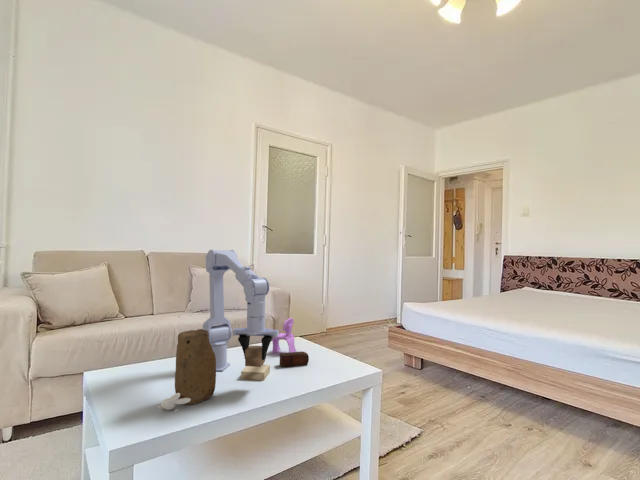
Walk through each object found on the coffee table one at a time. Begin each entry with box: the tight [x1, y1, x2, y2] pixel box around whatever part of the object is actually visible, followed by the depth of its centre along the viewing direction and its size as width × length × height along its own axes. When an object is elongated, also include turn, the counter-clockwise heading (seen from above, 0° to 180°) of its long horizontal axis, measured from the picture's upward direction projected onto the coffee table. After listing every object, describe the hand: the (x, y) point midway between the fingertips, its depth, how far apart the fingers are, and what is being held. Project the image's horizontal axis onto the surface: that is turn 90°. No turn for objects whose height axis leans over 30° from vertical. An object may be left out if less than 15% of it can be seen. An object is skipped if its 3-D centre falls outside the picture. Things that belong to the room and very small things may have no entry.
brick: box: [279, 351, 310, 369], centre depth 134 cm, size 11×4×5 cm, turn 110°
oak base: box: [240, 364, 271, 381], centre depth 122 cm, size 8×8×3 cm
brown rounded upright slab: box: [174, 328, 217, 405], centre depth 103 cm, size 11×8×20 cm
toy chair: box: [271, 317, 298, 354], centre depth 150 cm, size 8×9×15 cm
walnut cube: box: [244, 345, 266, 367], centre depth 111 cm, size 5×5×5 cm
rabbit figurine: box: [157, 393, 191, 413], centre depth 95 cm, size 6×4×8 cm
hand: (255, 358), depth 111 cm, fingers closed on walnut cube, 5 cm apart
